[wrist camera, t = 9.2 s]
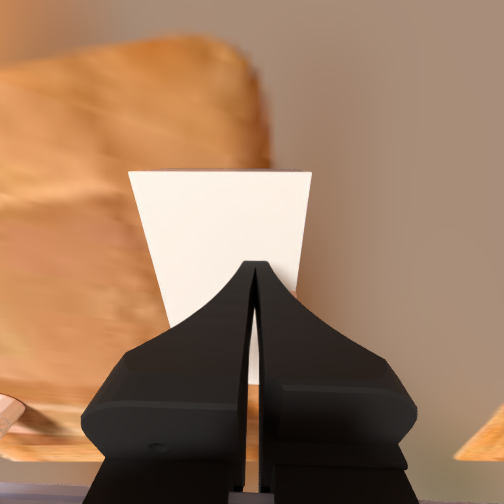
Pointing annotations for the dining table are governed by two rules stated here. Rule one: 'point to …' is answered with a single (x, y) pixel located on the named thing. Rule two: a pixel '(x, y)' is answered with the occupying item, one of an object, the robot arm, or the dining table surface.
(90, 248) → the dining table surface
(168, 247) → the duct lid
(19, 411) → the white cup
